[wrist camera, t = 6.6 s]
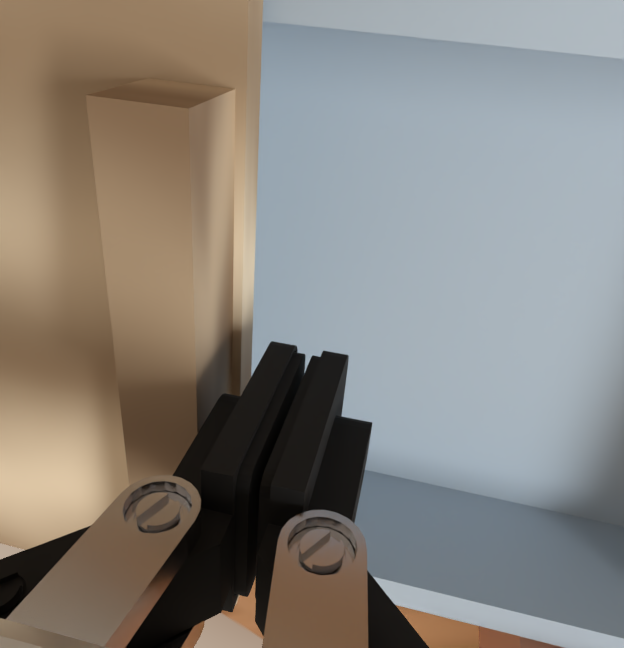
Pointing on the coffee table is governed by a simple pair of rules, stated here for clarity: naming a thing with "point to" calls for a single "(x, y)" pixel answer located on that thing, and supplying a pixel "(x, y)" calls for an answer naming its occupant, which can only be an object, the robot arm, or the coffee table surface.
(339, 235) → the blue open box
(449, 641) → the coffee table surface
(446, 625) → the coffee table surface
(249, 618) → the coffee table surface
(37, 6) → the lid
